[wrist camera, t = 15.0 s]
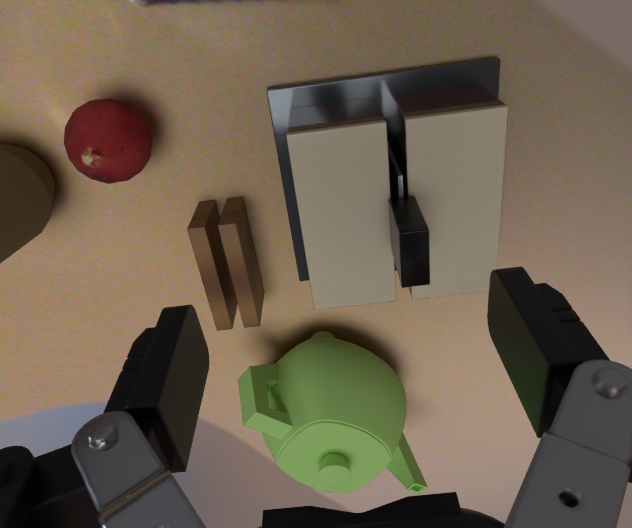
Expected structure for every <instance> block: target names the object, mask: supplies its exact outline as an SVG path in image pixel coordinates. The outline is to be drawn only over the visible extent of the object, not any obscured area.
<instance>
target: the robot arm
mask: <svg viewBox="0 0 632 528" xmlns="http://www.w3.org/2000/svg"><path fill="white" fill-rule="evenodd" d="M487 318H488V327H489V332H490V336H491V338H492V341H493V343H494V345H495V347H496V349H497V352H498V354H499V356H500V358H501V360H502V362H503V364H504V367H505V369H506V371H507V373H508V375H509V377H510V379H511V382H512V384H513V386H514V388H515V390H516V392H517V394H518V397H519V399H520V401H521V403H522V405H523V407H524V410H525V412H526V414H527V416H528V418H529V420H530V422H531V425H532V427H533V429H534V431H535V433H536V435H537V437H538V438H541V440H540V442H539V445H538V447H537V450H536V452H535V454H534V457H533V459H532V461H531V464H530V466H529V468H528V471H527V473H526V476H525V478H524V480H523V483H522V485H521V487H520V490H519V492H518V495H517V497H516V499H515V502H514V504H513V506H512V509H511V511H510V514H509V516H508V518H507V521H506V523H505V524H504V523H502V522H501V521H499V520H497V519H495V518H493V517H491V516H488V515H486V514H483V513H481V512H477V511H474V510H470V509H465V508H460V505H459V501H458V498H457V494H456V492H451V493H441V494H430V495H420V496H409V497H405V498H403V499H400V500H397V501H394V502H391V503H389V504H386V505H383V506H380V507H377V508H375V509H372V510H369V511H366V512H363V513H351V512H345V511H339V510H333V509H326V508H320V507H314V506H304V507H292V508H282V509H271V510H263V520H262V526H261V527H259V528H616V526H617V523H618V518H619V515H620V511H621V506H622V503H623V499H624V494H625V491H626V486H627V483H628V482H631V483H632V369H631V368H629V367H627V366H625V365H623V364H620V363H617V362H613V361H610V359H609V358H608V357H607V355H606V354H605V353H604V351H603V350H602V348H601V347H600V346H599V344H598V343H597V341H596V340H595V339H594V337H593V336H592V335H591V333H590V332H589V330H588V329H587V328H586V326H585V325H584V323H583V322H582V321H580V318H579V317H578V315H577V314H576V312H575V311H574V310H572V307H571V305H570V304H569V303H568V301H567V300H566V299H565V297H564V296H563V294H562V293H560V292H558V291H557V290H555V289H554V288H552V287H551V286H549V285H548V284H546V283H541V284H534V283H533V281H532V280H531V278H530V277H529V275H528V274H527V272H526V271H525V269H524V268H523V267H513V268H505V269H496V270H492V271H491V274H490V284H489V299H488V315H487ZM127 357H128V359H126V361H125V363H124V366H123V368H122V369H123V371H121V373H120V375H119V377H118V380H117V382H116V385H115V387H114V389H113V392H112V394H111V396H110V399H109V401H108V403H107V406H106V408H105V410H104V413H103V414H101V415H99V416H97V417H95V418H93V419H92V420H90V421H89V422H87V423H86V424H85V425H84V426H83V427H82V428H81V429H80V430H79V431H78V432H77V434H76V435H75V437H74V439H73V441H72V444H70V445H68V446H65V447H63V448H60V449H57V450H54V451H52V452H49V453H46V454H43V455H41V456H38V457H36V458H34V456H33V455H32V454H31V452H30V451H29V450H28V449H27V448H25V447H22V446H11V447H6V448H3V449H0V528H206V527H205V525H204V524H203V522H202V521H201V519H200V518H199V516H198V514H197V513H196V511H195V510H194V508H193V506H192V505H191V503H190V502H189V500H188V499H187V497H186V496H185V494H184V493H183V491H182V489H181V488H180V486H179V485H178V483H177V482H176V480H175V478H174V477H173V475H172V474H171V473H176V472H185V471H186V468H187V464H188V459H189V455H190V450H191V446H192V441H193V437H194V432H195V428H196V423H197V419H198V415H199V410H200V406H201V401H202V397H203V392H204V388H205V383H206V379H207V374H208V370H209V352H208V347H207V344H206V341H205V338H204V335H203V332H202V329H201V326H200V323H199V320H198V317H197V314H196V311H195V308H194V307H193V306H192V305H184V306H176V307H167V308H164V309H163V310H162V312H161V315H160V317H159V320H158V322H157V325H156V327H153V328H146V329H145V330H144V331H143V333H142V334H141V335H140V336H139V337H138V338H137V339H136V340H135V341H134V342H133V344H132V347H131V349H130V352H129V354H128V356H127Z"/></svg>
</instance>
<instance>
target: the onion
mask: <svg viewBox="0 0 632 528" xmlns="http://www.w3.org/2000/svg"><path fill="white" fill-rule="evenodd" d="M152 140H153V139H152V136H151V133H150V129H149V126H148V124H147V123H146V122H145V120H144V119H143V117H142V116H141V115H140V113H139V112H138V111H136V110H135V109H133V108H132V107H130V106H129V105H127V104H126V103H123V102H119V101H116V100H113V99H101V100H92V101H89V102H87V103H85V104H84V105H82V106H80V107H78V108H77V109H76V110H75V111H74V112H73V113H72V115H71V117H70V119H69V121H68V122H67V124H66V127H65V134H64V145H65V148H66V151H67V154H68V157H69V159H70V161H71V162H72V163H73V165H74V166H75V167H76V169H77V170H78V171H80V172H81V173H83V174H84V175H86V176H87V177H89V178H90V179H93V180H97V181H100V182H104V183H108V184H110V183H115V182H121V181H127V180H129V179H131V178H132V177H134V176H135V175H137V174H138V173H140V172H141V171H142V170H143V168H144V167H145V165H146V163H147V162H148V160H149V158H150V155H151V148H152Z"/></svg>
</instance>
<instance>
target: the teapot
mask: <svg viewBox="0 0 632 528" xmlns="http://www.w3.org/2000/svg"><path fill="white" fill-rule="evenodd" d="M238 384H239V393H240V401H241V410H242V418H243V425H244V426H247V427H250V428H252V429H255V430H258V431H260V432H262V435H263V437H264V440H265V442H266V444H267V446H268V448H269V450H270V452H271V454H272V456H273V458H274V460H275V461H276V463H277V464H278V466H279V467H280V468H281V469H282V470H283V471H284V472H285V473H286V474H287V475H289V476H290V477H292V478H293V479H295V480H297V481H299V482H300V483H302V484H304V485H307V486H309V487H312V488H315V489H318V490H322V491H327V492H333V493H348V492H353V491H355V490H357V489H359V488H361V487H363V486H364V485H366V484H367V483H369V482H370V481H371V480H372V479H374V478H375V477H376V476H377V475H378V474H379V473H380V472H382V471H383V470H384V469H385V467H387V468H388V469H389V470H390V471H391V472H392V474H393V475H394V476H395V477H396V478H397V479H398V480H399V481H400V482H401V483H402V484H403V485H404V486H405V487H406V490H408V491H411V492H414V493H418V494H420V493H421V492H422V491H423V490H425V489H426V488H427V484H426V482H425V480H424V478H423V475H422V473H421V471H420V469H419V467H418V465H417V462H416V460H415V458H414V456H413V454H412V451H411V449H410V447H409V445H408V443H407V441H406V438H405V436H404V434H403V428H404V423H405V417H406V395H405V389H404V386H403V384H402V382H401V380H400V379H399V377H398V375H397V374H396V373H395V372H394V370H393V369H392V368H391V367H390V366H389V365H388V364H387V363H386V362H384V361H383V360H382V359H380V358H379V357H378V356H376V355H375V354H373V353H371V352H370V351H368V350H366V349H364V348H362V347H360V346H358V345H355V344H353V343H350V342H346V341H343V340H339V339H335V337H334V336H333V335H332V334H331V333H329V332H326V331H320V332H317V333H315V334H314V335H313V336H312V337H311V339H309V340H306V341H304V342H302V343H300V344H298V345H297V346H295V347H294V348H293V349H291V350H290V351H289V352H288V353H286V354H285V355H284V356H283V357H282V358H281V359H280V360H279V361H278V362H277V363H276V364H268V365H259V366H250V367H249V368H248V369H247V370H246V371H245V372H244V373H243V374H242V375H241V377H240V378H239V379H238Z"/></svg>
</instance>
